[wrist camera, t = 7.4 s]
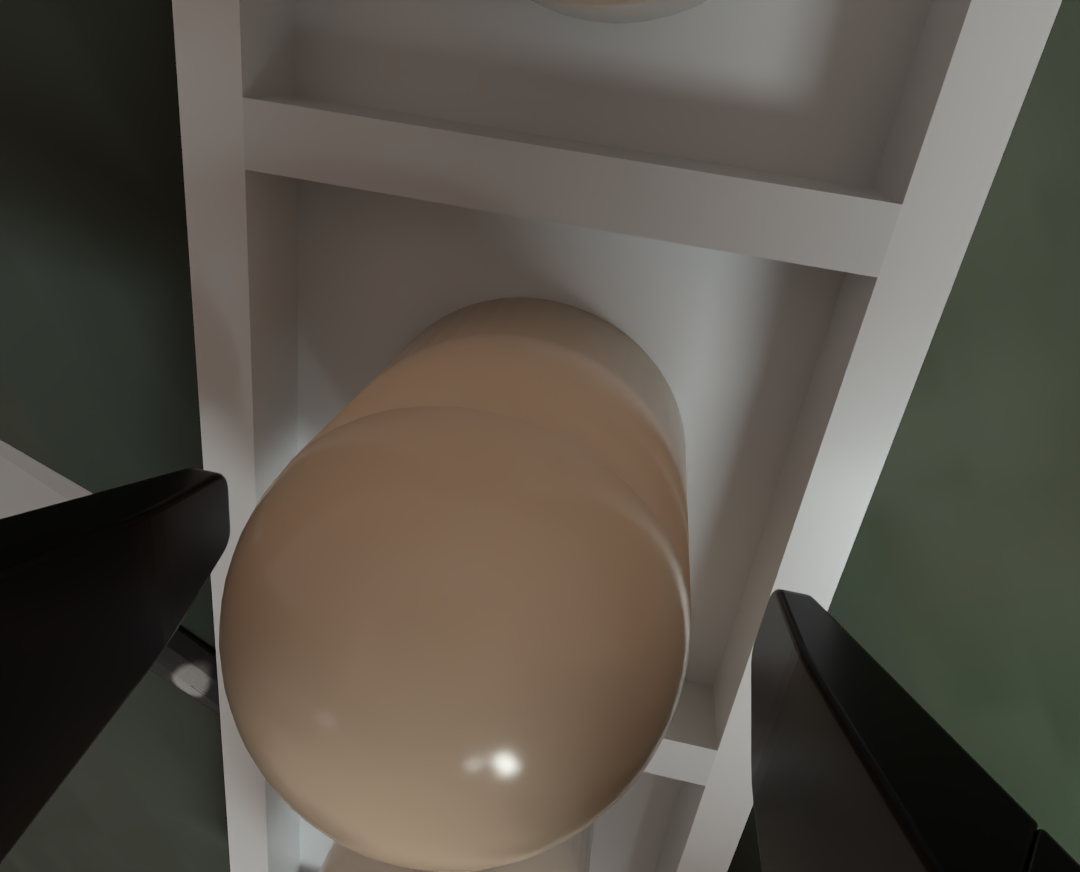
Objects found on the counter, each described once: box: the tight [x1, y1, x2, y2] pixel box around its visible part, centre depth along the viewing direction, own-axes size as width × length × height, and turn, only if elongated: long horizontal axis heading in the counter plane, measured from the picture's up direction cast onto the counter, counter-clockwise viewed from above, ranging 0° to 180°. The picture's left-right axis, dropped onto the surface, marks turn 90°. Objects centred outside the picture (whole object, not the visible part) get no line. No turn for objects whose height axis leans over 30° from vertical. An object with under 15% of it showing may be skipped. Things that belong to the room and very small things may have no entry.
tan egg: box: [219, 297, 691, 872], centre depth 9 cm, size 5×5×6 cm
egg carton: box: [172, 0, 1062, 872], centre depth 11 cm, size 9×26×2 cm, turn 172°
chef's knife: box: [0, 440, 220, 715], centre depth 15 cm, size 19×1×3 cm
